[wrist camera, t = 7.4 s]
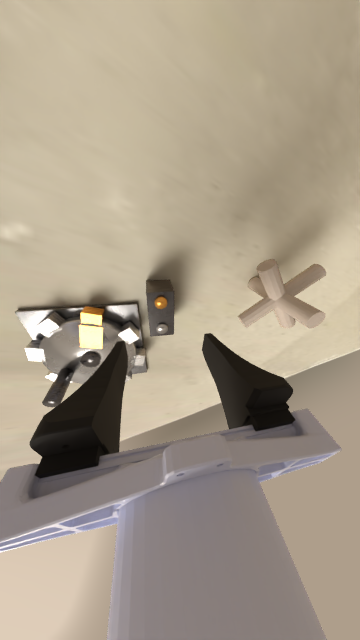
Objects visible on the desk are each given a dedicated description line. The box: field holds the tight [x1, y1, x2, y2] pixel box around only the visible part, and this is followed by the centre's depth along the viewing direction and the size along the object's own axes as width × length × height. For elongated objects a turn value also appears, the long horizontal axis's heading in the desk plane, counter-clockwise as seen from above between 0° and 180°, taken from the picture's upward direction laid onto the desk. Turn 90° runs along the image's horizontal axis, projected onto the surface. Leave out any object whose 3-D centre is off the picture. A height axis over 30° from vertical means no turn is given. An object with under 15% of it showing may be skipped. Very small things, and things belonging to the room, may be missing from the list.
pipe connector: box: [238, 259, 326, 328], centre depth 18 cm, size 10×10×10 cm
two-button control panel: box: [146, 280, 174, 336], centre depth 20 cm, size 6×3×4 cm, turn 178°
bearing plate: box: [15, 303, 147, 383], centre depth 23 cm, size 14×14×1 cm
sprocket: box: [25, 306, 145, 407], centre depth 20 cm, size 15×15×6 cm
